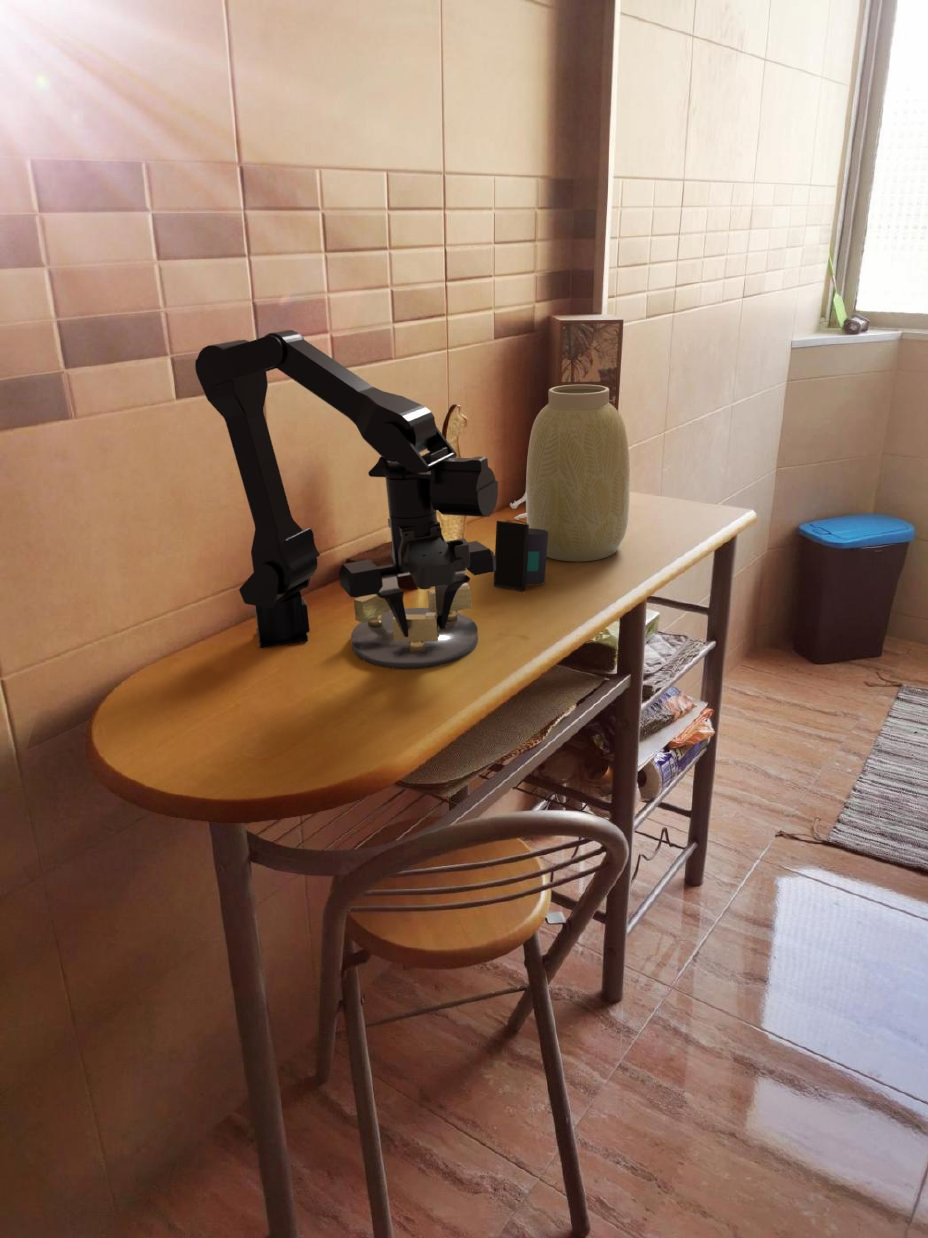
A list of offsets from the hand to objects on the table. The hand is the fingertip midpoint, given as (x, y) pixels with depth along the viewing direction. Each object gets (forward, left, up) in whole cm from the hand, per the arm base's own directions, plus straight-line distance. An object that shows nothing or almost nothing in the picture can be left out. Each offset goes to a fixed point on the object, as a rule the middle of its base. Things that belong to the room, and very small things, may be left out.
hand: (423, 632), depth 117 cm
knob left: (-4, +11, -3) cm, 12 cm away
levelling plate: (0, +7, -4) cm, 8 cm away
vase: (+35, +35, -5) cm, 50 cm away
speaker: (+21, +23, -5) cm, 32 cm away
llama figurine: (+37, +50, -5) cm, 62 cm away
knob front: (-1, +1, -3) cm, 3 cm away
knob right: (+6, +9, -3) cm, 11 cm away
